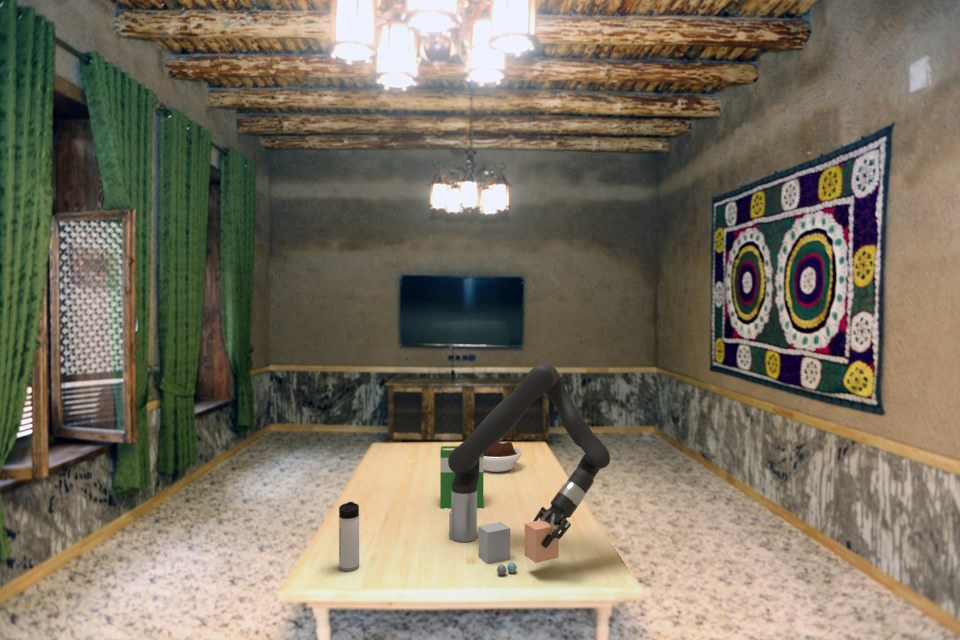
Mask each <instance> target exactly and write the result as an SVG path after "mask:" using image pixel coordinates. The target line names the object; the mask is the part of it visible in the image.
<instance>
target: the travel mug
mask: <svg viewBox="0 0 960 640" xmlns="http://www.w3.org/2000/svg"><path fill="white" fill-rule="evenodd" d="M338 508H339V509H338V513H339V514H338V568H339V570H340V571H343V572H353V570H354V571H356V570H358V569H359V568H360V505H359V503H355V502H354V501H348V502H346V503H342V504H341V505H340V506H339V507H338Z"/></svg>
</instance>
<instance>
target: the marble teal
mask: <svg viewBox="0 0 960 640" xmlns="http://www.w3.org/2000/svg"><path fill="white" fill-rule="evenodd" d="M517 568H518V567H517V564H516V563H514V562H509V563H508V564H507V566H506V569H507V571H508V572H509V573H511V574H514V573H515V572H516V571H517V570H518V569H517Z"/></svg>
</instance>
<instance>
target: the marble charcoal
mask: <svg viewBox="0 0 960 640" xmlns="http://www.w3.org/2000/svg"><path fill="white" fill-rule="evenodd" d="M507 571H508V569H507V566H506V565H504V564H500V565H498V566H497V568H496V573H497V574H498V575H499V576H505V575H506V574H507Z"/></svg>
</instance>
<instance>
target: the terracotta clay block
mask: <svg viewBox="0 0 960 640" xmlns="http://www.w3.org/2000/svg"><path fill="white" fill-rule="evenodd" d="M554 526H555V527H556V528H558V526H559V525H554ZM551 528H552V527H551V526H550V524H549V523H547V522H545V520H544V521H540V519H538V521H530V522H525V523H524V556H525V557H527V558H528V559H529V560H531V561H532V562H534V563H535V564H539V563H542V562H546V561H550V560H554V559H555V560H556V559H558V558H559V556H560V555H559V552H560V551H559V548H560V547H559V544H560V543H559V540H560V539H558V538H555V539H553V540H552V542H551V543H550V545H549V546H548V547H547V548H545V547H543V546H542V545H541V543H542V541H543V540H544V539H545V537H546V536H547V534H549V531H550V530H551ZM554 531H555V530H554ZM554 531H553V532H554ZM559 533H560V532H559ZM559 533H558V534H559Z"/></svg>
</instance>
